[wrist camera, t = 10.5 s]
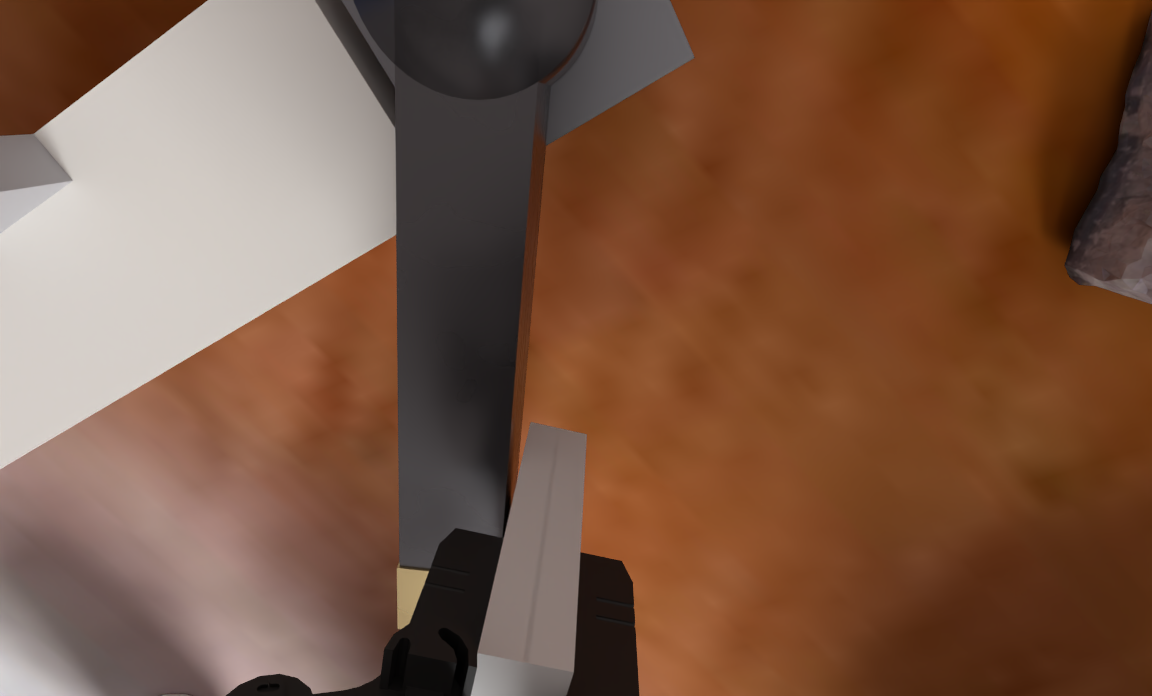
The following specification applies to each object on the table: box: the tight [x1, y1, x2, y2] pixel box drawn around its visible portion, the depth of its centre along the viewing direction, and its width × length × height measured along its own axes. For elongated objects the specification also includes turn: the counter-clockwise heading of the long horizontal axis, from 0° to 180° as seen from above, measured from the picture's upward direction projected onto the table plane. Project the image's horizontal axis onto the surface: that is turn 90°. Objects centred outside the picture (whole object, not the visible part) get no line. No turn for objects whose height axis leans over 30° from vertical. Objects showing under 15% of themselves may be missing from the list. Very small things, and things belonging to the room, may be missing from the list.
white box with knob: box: [0, 0, 695, 469], centre depth 17 cm, size 6×26×11 cm, turn 119°
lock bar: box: [353, 0, 598, 629], centre depth 13 cm, size 4×16×3 cm, turn 174°
